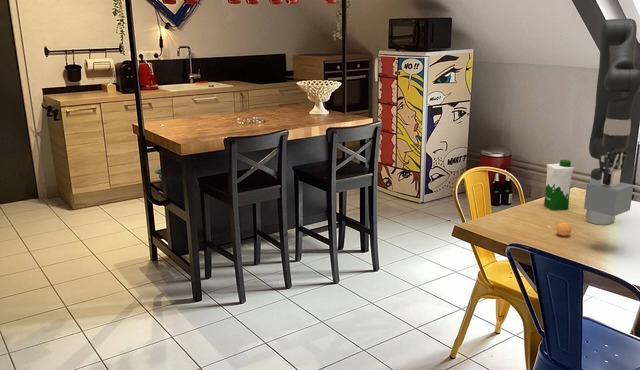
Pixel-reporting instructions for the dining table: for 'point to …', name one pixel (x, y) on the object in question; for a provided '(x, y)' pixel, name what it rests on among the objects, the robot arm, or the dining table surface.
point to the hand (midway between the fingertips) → (610, 182)
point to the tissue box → (609, 195)
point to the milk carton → (558, 185)
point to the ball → (563, 229)
